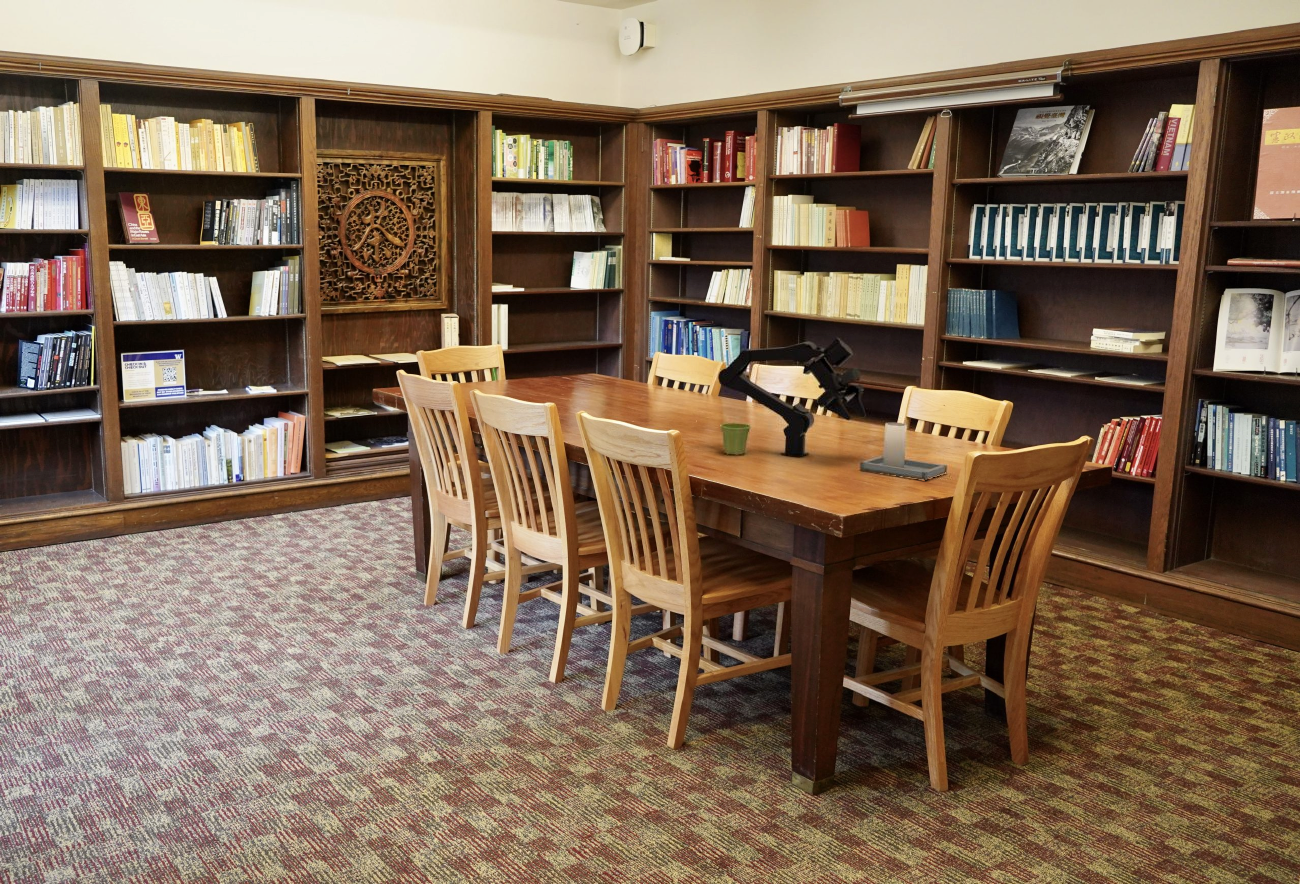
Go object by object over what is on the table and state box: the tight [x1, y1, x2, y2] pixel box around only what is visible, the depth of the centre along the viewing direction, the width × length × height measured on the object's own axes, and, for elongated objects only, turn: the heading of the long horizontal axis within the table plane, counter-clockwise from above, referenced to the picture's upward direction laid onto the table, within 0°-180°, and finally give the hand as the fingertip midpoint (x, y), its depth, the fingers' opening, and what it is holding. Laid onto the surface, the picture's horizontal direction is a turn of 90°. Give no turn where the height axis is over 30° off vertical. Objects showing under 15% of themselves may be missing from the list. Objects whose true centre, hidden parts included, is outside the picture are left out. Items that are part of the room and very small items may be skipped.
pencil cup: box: [882, 422, 908, 468], centre depth 319 cm, size 6×6×13 cm
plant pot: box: [719, 422, 752, 455], centre depth 339 cm, size 9×9×9 cm
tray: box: [859, 455, 948, 480], centre depth 318 cm, size 14×20×2 cm
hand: (857, 417), depth 328 cm, fingers open, 9 cm apart
